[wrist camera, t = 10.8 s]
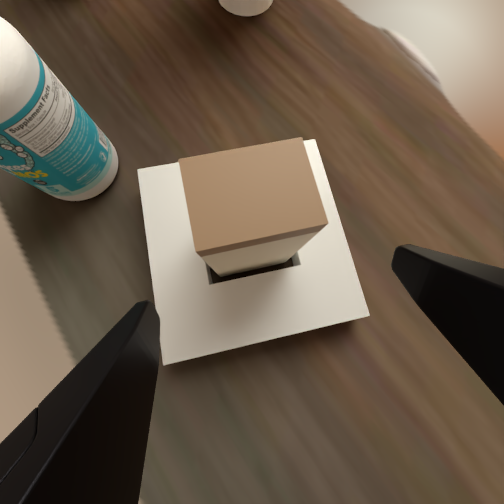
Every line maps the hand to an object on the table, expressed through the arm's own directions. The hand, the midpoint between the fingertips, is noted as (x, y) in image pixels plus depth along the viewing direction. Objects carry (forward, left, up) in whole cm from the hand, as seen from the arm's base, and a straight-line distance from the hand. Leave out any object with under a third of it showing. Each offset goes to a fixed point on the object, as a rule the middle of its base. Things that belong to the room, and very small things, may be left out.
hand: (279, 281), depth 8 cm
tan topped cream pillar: (+4, 0, -12) cm, 13 cm away
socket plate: (+4, 0, -12) cm, 13 cm away
